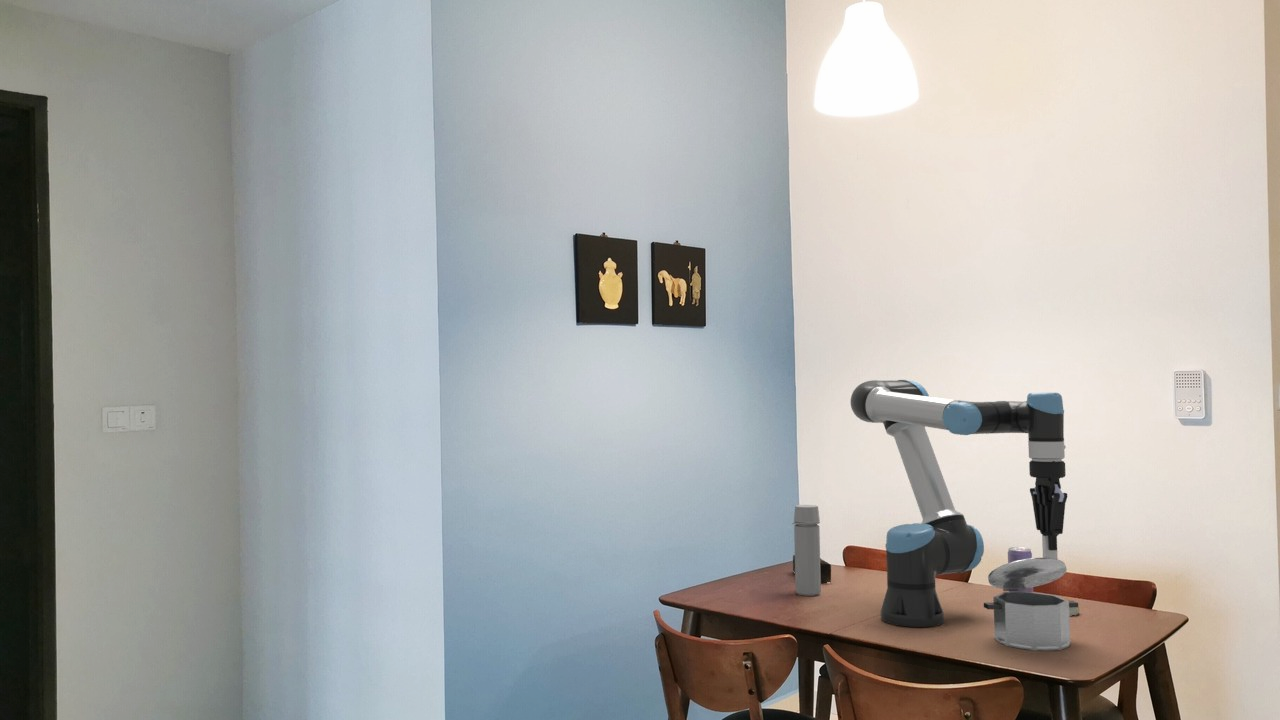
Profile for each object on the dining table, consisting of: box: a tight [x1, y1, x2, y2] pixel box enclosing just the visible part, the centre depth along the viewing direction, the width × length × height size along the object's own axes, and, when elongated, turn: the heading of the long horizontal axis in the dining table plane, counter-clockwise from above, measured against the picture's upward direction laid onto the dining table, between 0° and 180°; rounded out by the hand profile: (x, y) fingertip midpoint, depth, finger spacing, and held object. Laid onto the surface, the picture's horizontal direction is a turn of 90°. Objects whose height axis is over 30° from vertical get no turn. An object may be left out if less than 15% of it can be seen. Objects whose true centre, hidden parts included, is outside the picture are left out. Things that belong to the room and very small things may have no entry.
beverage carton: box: [792, 554, 832, 583], centre depth 283 cm, size 8×19×7 cm, turn 3°
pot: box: [983, 591, 1079, 652], centre depth 207 cm, size 21×16×10 cm
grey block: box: [1063, 598, 1080, 617], centre depth 234 cm, size 8×9×4 cm
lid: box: [987, 557, 1067, 592], centre depth 209 cm, size 17×17×3 cm
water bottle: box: [791, 504, 822, 597], centre depth 261 cm, size 9×8×25 cm
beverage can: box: [1007, 546, 1034, 592], centre depth 242 cm, size 6×6×15 cm
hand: (1050, 563), depth 206 cm, fingers closed
